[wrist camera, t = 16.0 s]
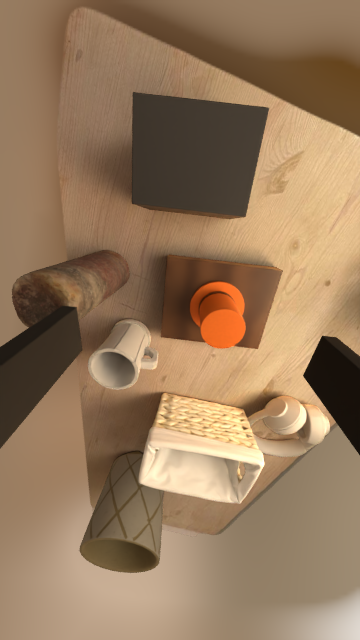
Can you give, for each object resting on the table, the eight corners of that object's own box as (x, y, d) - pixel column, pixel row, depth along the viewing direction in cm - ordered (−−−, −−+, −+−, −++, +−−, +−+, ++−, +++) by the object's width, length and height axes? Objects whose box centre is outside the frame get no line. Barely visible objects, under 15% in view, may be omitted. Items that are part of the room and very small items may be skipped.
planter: (180, 469, 66) (176, 562, 48) (142, 490, 72) (125, 578, 54) (136, 439, 61) (112, 530, 43) (98, 464, 67) (63, 551, 49)
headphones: (269, 380, 48) (228, 423, 59) (279, 411, 42) (231, 452, 52) (336, 405, 50) (284, 442, 61) (355, 437, 44) (294, 472, 54)
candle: (90, 282, 41) (9, 327, 23) (92, 244, 38) (1, 263, 20) (127, 291, 42) (77, 343, 24) (132, 255, 39) (79, 283, 20)
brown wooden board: (162, 330, 45) (160, 337, 42) (168, 254, 38) (167, 256, 35) (254, 341, 45) (257, 349, 42) (276, 267, 38) (282, 270, 35)
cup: (145, 308, 43) (129, 336, 32) (165, 342, 46) (157, 379, 35) (104, 327, 45) (76, 359, 35) (126, 358, 49) (107, 396, 38)
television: (149, 209, 35) (131, 203, 25) (152, 132, 31) (132, 89, 21) (230, 218, 35) (245, 217, 25) (245, 143, 31) (269, 105, 21)
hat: (186, 327, 41) (185, 353, 33) (193, 277, 37) (193, 293, 28) (237, 333, 41) (248, 361, 33) (249, 284, 37) (266, 302, 28)
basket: (149, 428, 59) (135, 488, 45) (157, 385, 52) (145, 441, 38) (230, 443, 59) (241, 507, 46) (249, 403, 52) (269, 465, 39)
